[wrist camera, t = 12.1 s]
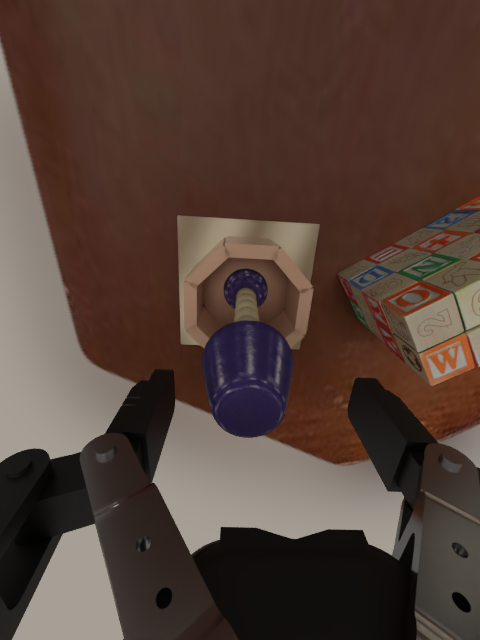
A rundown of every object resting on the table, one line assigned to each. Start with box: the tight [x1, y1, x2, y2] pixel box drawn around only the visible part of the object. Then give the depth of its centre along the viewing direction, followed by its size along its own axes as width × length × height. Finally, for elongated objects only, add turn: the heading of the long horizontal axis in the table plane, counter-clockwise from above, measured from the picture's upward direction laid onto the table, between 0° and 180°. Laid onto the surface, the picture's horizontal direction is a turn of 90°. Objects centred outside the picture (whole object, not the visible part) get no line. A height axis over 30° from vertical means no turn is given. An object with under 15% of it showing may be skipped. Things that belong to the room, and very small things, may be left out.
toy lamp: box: [202, 268, 293, 438], centre depth 18 cm, size 5×5×17 cm
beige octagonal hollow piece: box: [183, 236, 313, 348], centre depth 24 cm, size 10×10×6 cm
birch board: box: [177, 215, 320, 349], centre depth 27 cm, size 13×13×1 cm
